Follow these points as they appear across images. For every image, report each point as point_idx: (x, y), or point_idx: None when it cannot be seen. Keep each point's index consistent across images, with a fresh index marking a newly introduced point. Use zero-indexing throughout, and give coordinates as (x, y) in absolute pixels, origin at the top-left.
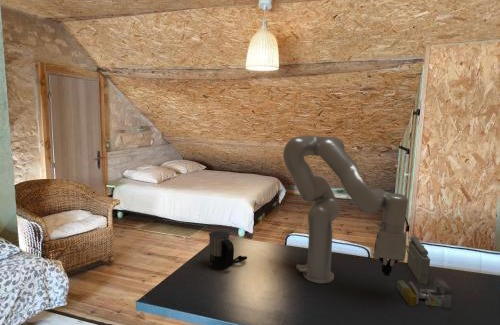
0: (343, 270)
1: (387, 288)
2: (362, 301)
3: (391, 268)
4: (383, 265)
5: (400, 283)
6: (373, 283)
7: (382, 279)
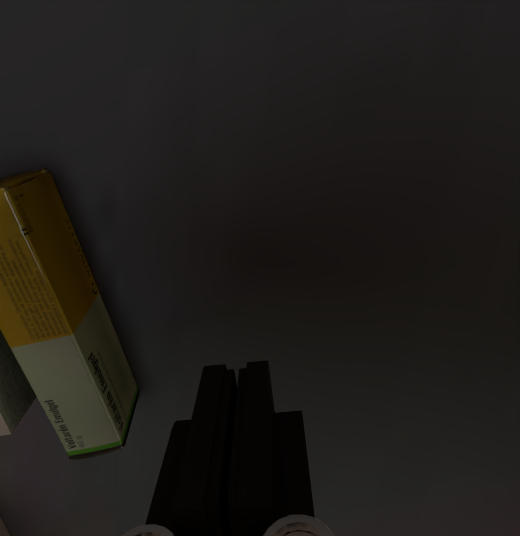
0: (475, 506)
1: None
2: (446, 112)
3: (158, 486)
4: (313, 516)
5: (97, 403)
6: None
7: None
